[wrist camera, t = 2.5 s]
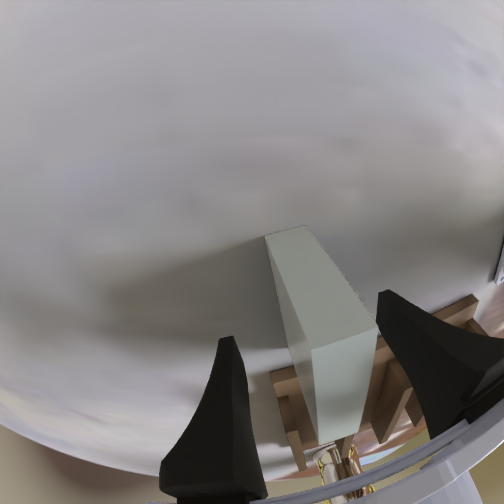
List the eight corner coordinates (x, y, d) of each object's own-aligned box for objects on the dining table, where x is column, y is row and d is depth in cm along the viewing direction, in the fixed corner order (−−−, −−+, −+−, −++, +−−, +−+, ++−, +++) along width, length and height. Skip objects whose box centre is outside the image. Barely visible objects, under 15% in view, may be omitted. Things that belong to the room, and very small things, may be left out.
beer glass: (322, 443, 27) (353, 546, 14) (368, 434, 29) (402, 525, 16) (301, 462, 30) (324, 551, 17) (343, 455, 32) (370, 535, 19)
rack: (472, 294, 18) (499, 322, 15) (431, 391, 26) (445, 414, 23) (269, 372, 18) (281, 421, 14) (293, 445, 26) (300, 475, 22)
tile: (305, 224, 13) (378, 326, 7) (318, 338, 17) (357, 432, 11) (264, 235, 13) (310, 349, 7) (288, 347, 17) (319, 445, 11)
